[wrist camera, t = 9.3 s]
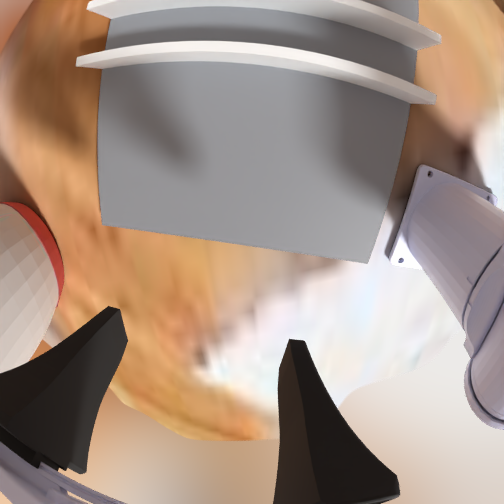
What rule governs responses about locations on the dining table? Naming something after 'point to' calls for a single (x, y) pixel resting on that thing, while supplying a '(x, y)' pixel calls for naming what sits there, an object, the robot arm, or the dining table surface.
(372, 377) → the dining table surface
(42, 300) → the citrus juicer
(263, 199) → the grey ridged board
